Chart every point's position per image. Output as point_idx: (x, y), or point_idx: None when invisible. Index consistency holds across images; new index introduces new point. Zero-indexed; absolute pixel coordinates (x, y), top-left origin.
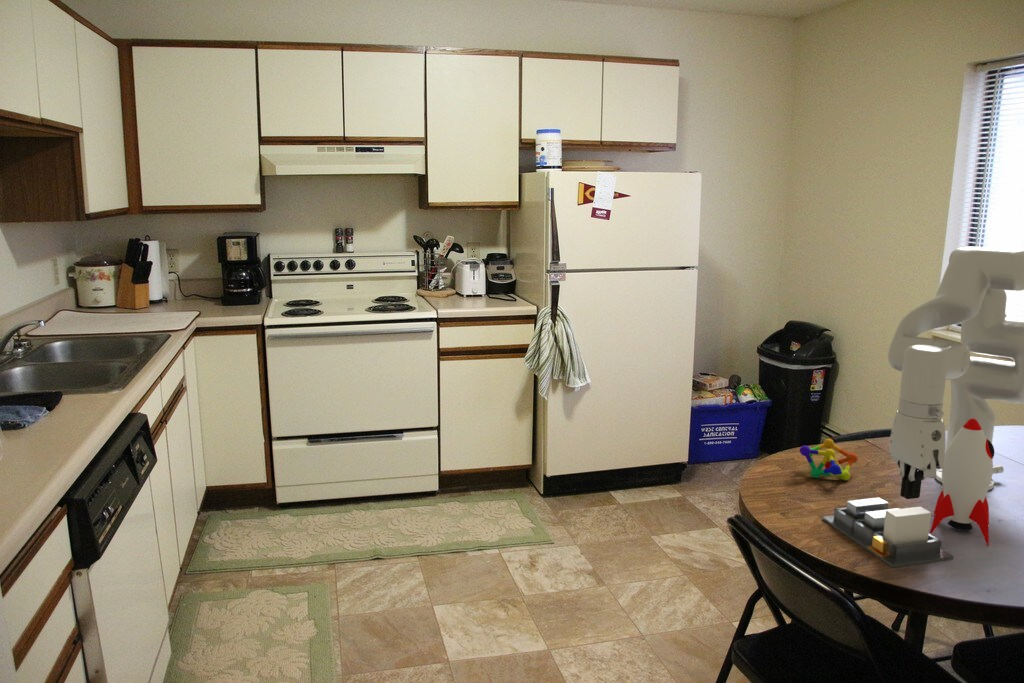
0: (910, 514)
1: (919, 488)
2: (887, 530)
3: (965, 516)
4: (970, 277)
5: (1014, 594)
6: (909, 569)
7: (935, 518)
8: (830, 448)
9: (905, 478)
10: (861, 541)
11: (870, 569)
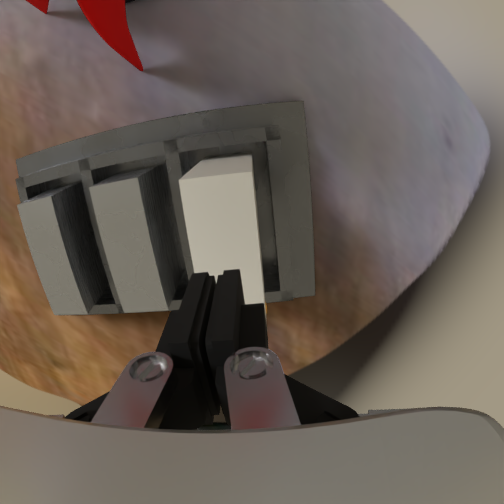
0: (256, 274)
1: (265, 327)
2: None
3: None
4: None
5: (468, 99)
6: (330, 257)
7: (123, 50)
8: None
9: (211, 417)
10: None
11: (308, 337)
